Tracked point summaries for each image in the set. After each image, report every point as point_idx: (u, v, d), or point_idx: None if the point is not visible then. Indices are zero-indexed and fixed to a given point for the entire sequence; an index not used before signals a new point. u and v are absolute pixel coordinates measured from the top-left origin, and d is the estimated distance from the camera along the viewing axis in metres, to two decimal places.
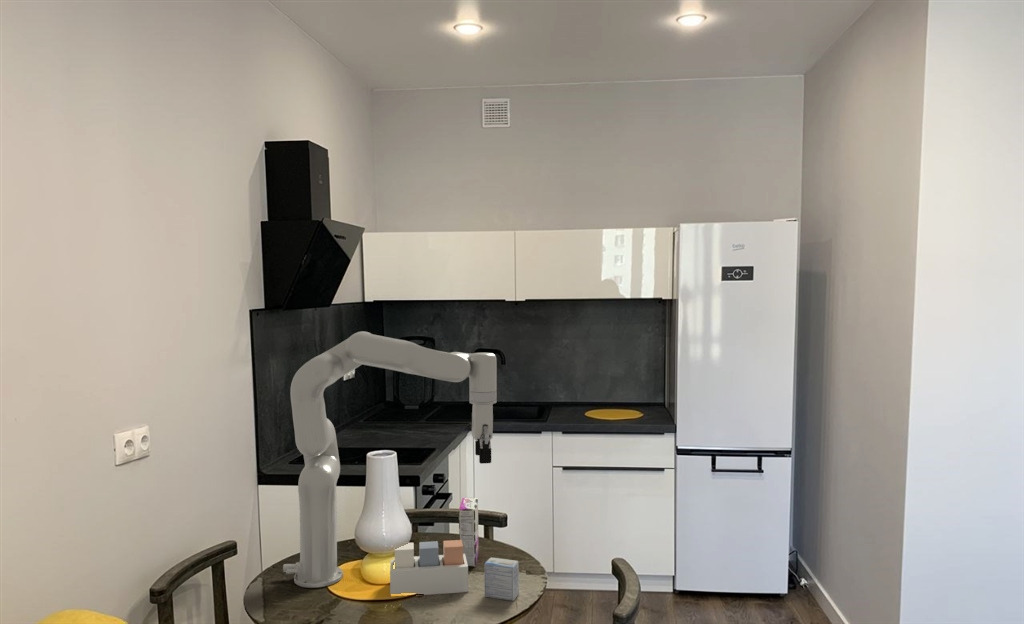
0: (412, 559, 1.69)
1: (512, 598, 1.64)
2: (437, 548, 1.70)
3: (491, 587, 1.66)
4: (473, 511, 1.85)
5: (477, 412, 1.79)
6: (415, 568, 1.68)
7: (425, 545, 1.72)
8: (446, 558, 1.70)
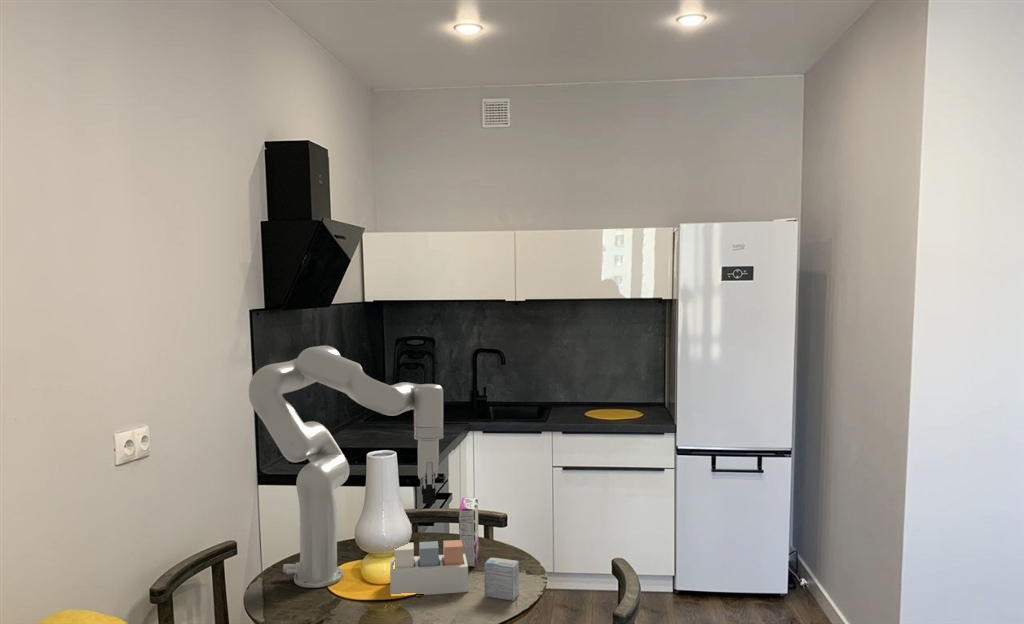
0: (412, 559, 1.69)
1: (512, 598, 1.64)
2: (437, 548, 1.70)
3: (491, 587, 1.66)
4: (473, 511, 1.85)
5: (421, 449, 1.67)
6: (415, 568, 1.68)
7: (425, 545, 1.72)
8: (446, 558, 1.70)
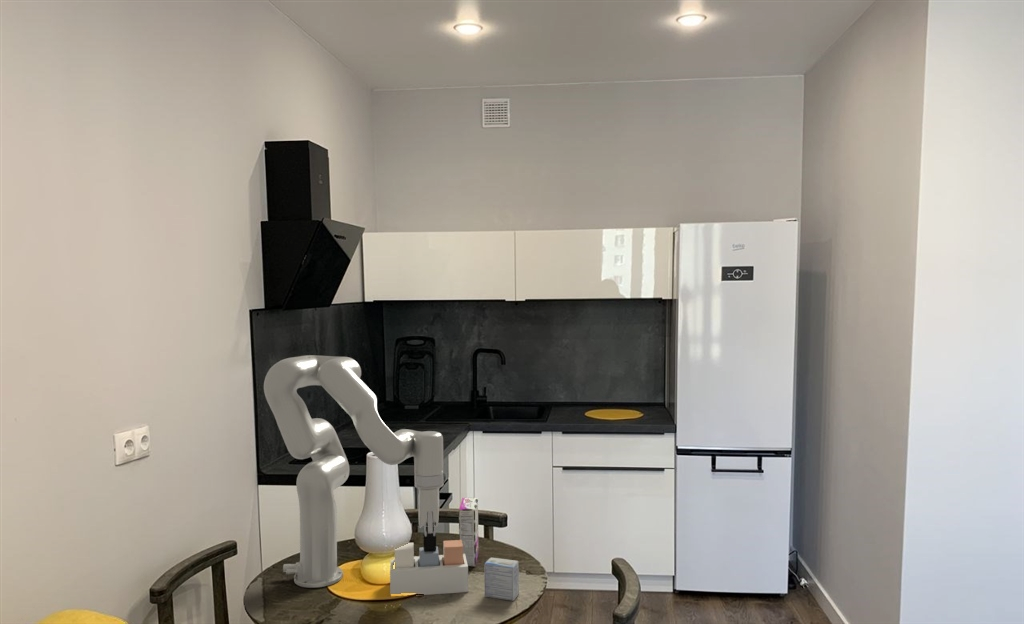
0: (412, 559, 1.69)
1: (512, 598, 1.64)
2: (437, 553, 1.70)
3: (491, 587, 1.66)
4: (473, 511, 1.85)
5: (421, 498, 1.67)
6: (415, 568, 1.68)
7: None
8: (446, 558, 1.70)
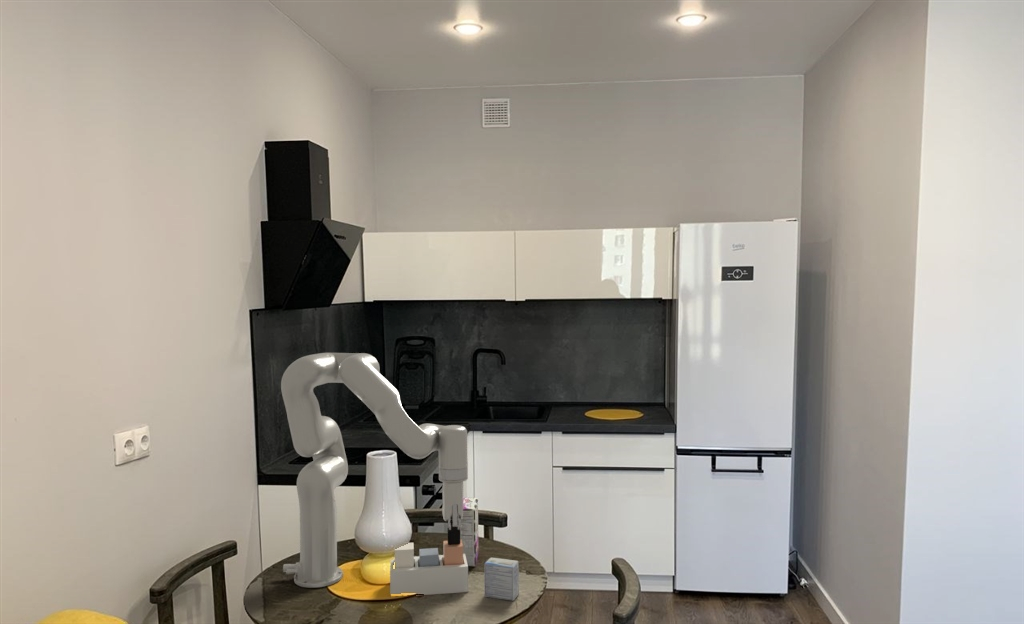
0: (412, 559, 1.69)
1: (512, 598, 1.64)
2: (437, 555, 1.70)
3: (491, 587, 1.66)
4: (473, 511, 1.85)
5: (446, 491, 1.68)
6: (415, 568, 1.68)
7: (425, 551, 1.72)
8: (446, 558, 1.70)
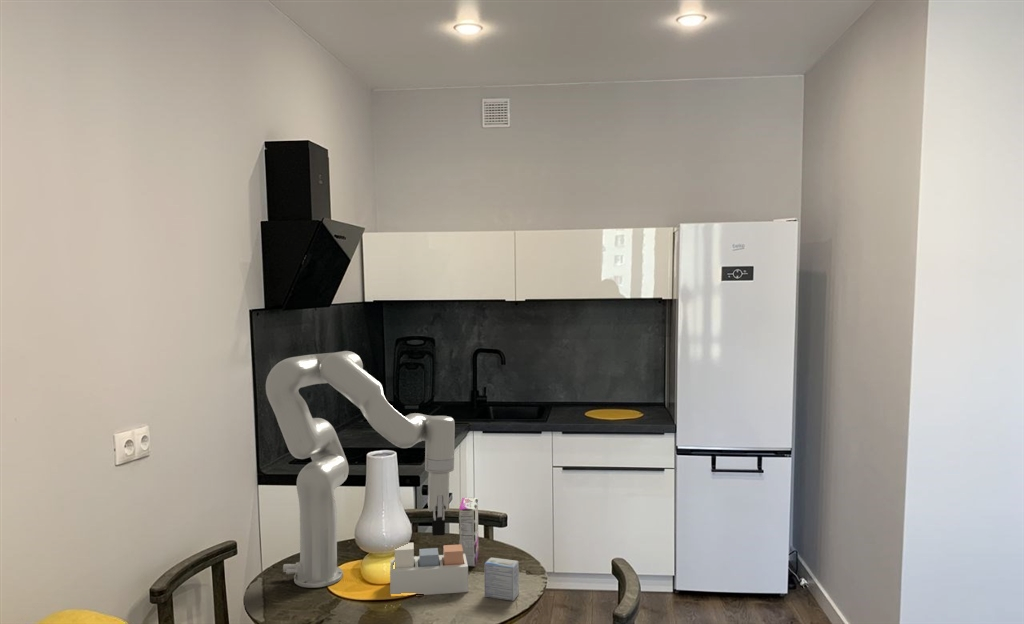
0: (412, 559, 1.69)
1: (512, 598, 1.64)
2: (437, 555, 1.70)
3: (491, 587, 1.66)
4: (473, 511, 1.85)
5: (432, 482, 1.68)
6: (415, 568, 1.68)
7: (425, 551, 1.72)
8: (446, 563, 1.70)
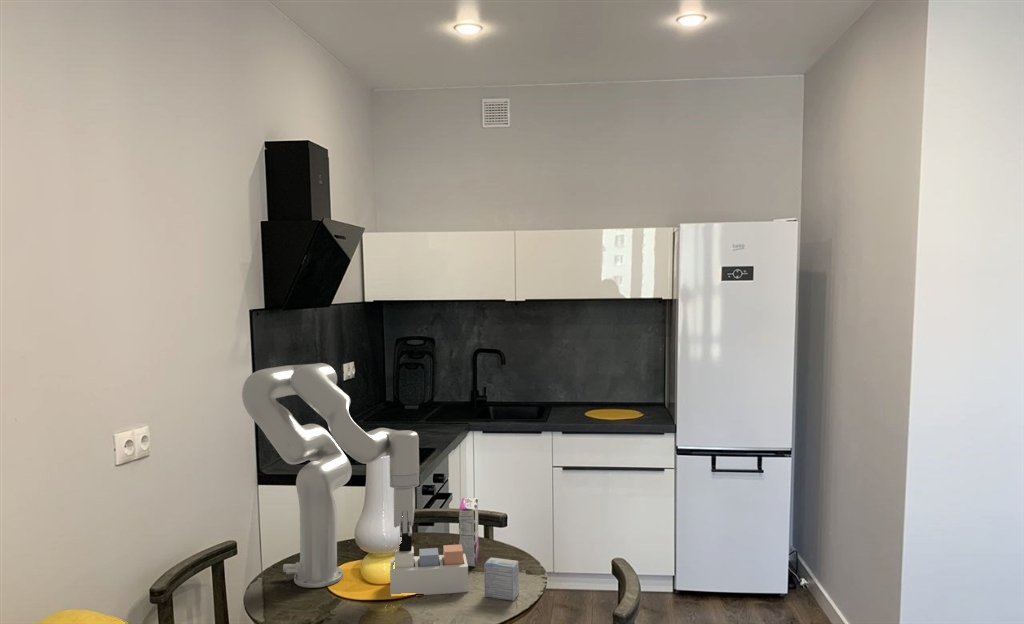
0: (412, 563, 1.69)
1: (512, 598, 1.64)
2: (437, 555, 1.70)
3: (491, 587, 1.66)
4: (473, 511, 1.85)
5: (396, 497, 1.66)
6: (415, 568, 1.68)
7: (425, 551, 1.72)
8: (446, 563, 1.70)
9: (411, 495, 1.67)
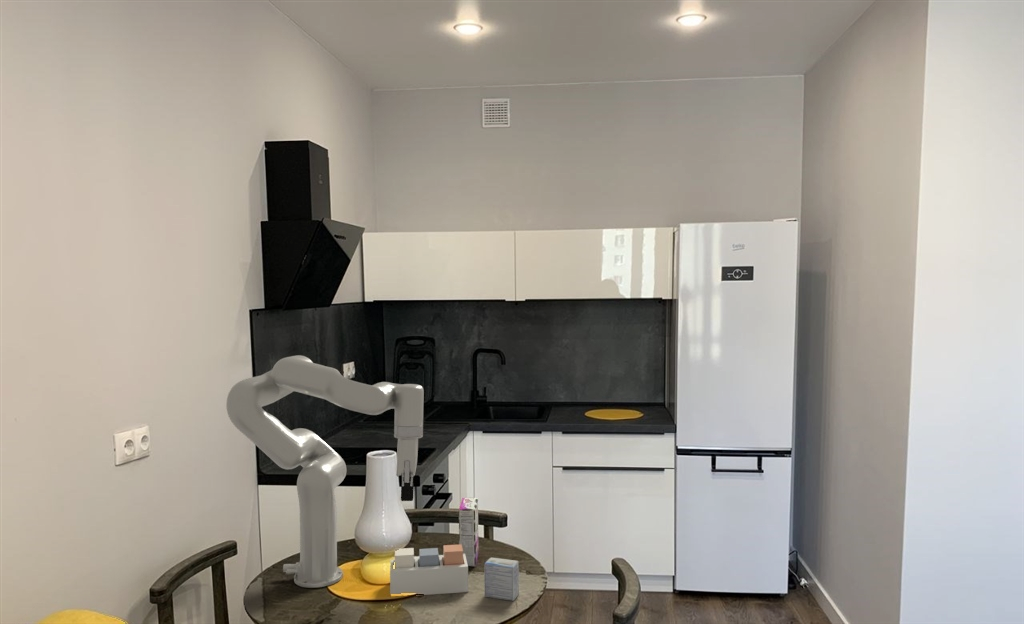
0: (412, 564, 1.69)
1: (512, 598, 1.64)
2: (437, 555, 1.70)
3: (491, 587, 1.66)
4: (473, 511, 1.85)
5: (399, 447, 1.71)
6: (415, 568, 1.68)
7: (425, 551, 1.72)
8: (446, 563, 1.70)
9: (414, 446, 1.71)
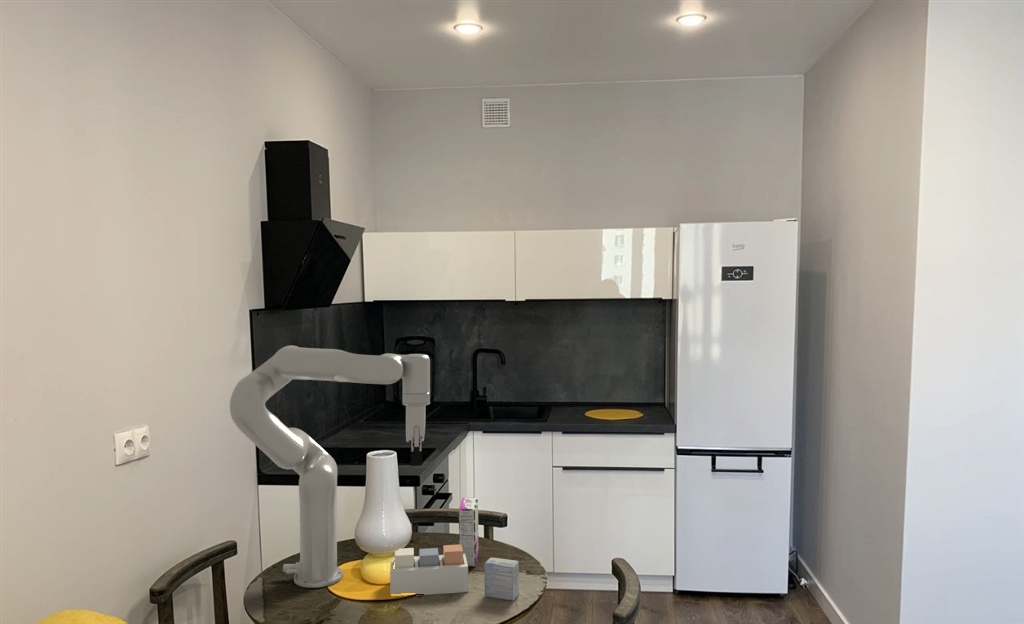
0: (412, 564, 1.69)
1: (512, 598, 1.64)
2: (437, 555, 1.70)
3: (491, 587, 1.66)
4: (473, 511, 1.85)
5: (408, 414, 1.78)
6: (415, 568, 1.68)
7: (425, 551, 1.72)
8: (446, 563, 1.70)
9: (422, 412, 1.79)
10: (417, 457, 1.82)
